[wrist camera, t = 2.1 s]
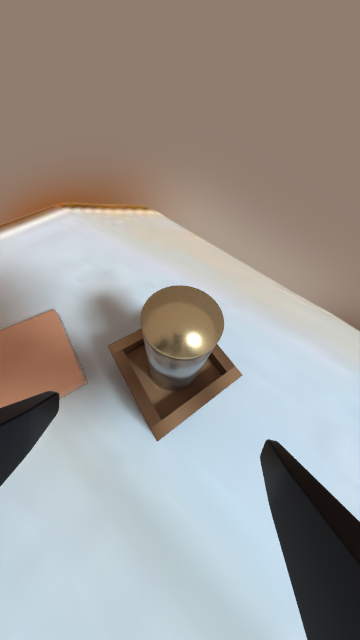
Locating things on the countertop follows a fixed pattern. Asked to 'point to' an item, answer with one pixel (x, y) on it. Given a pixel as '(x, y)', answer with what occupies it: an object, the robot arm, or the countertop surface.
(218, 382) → the socket block
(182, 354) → the silver and gold cylinder
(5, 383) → the terracotta tile
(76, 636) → the countertop surface
